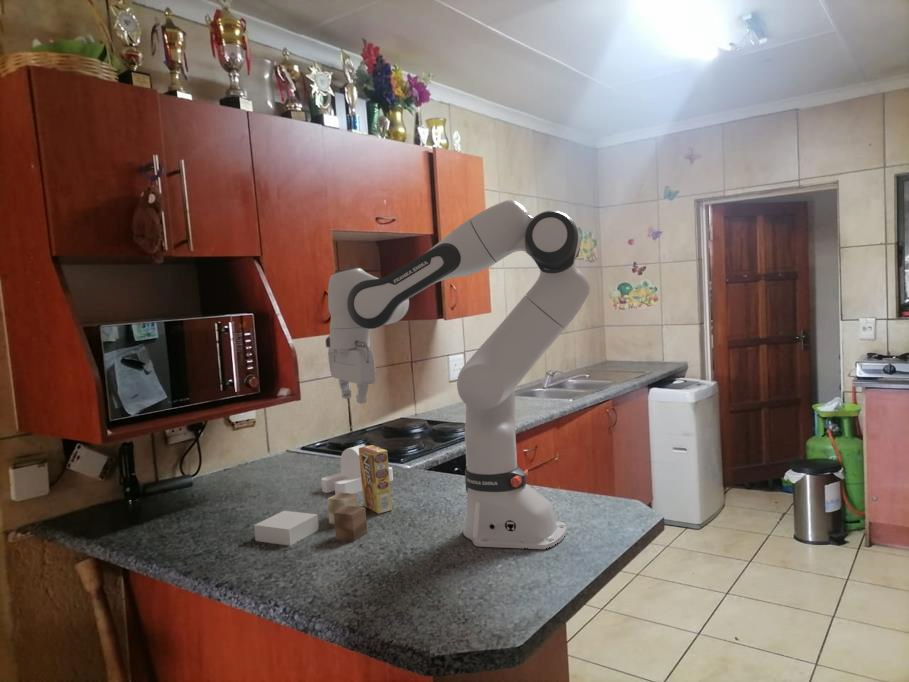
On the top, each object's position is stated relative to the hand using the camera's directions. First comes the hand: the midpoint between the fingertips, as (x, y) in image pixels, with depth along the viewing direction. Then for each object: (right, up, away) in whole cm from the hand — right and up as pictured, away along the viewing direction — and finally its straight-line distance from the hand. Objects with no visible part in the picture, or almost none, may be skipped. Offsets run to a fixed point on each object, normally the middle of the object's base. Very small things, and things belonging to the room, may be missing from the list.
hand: (354, 400), depth 148 cm
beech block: (-4, -30, +8) cm, 31 cm away
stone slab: (-15, -31, 0) cm, 35 cm away
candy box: (+4, -29, +15) cm, 33 cm away
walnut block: (0, -30, -3) cm, 30 cm away
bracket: (-4, -28, +37) cm, 47 cm away
